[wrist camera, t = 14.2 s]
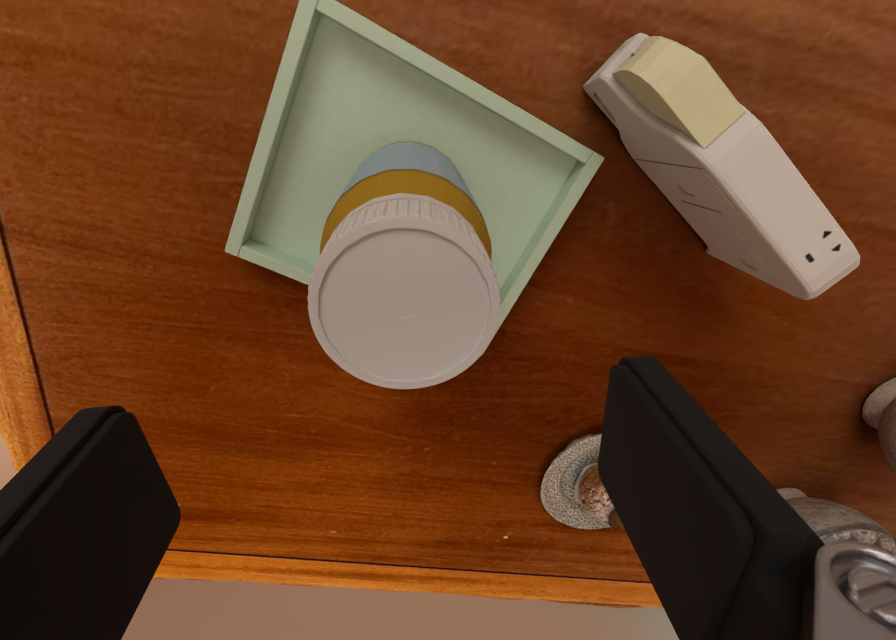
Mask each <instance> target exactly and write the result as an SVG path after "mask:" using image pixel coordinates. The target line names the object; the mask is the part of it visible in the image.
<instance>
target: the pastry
mask: <svg viewBox="0 0 896 640" xmlns="http://www.w3.org/2000/svg"><path fill="white" fill-rule="evenodd" d="M601 435H602V433H600V434H587V435H585V436H583V437H580V438H579V439H574V440H573V441H572V442H571V443H570V444H568V446H567V447H566V448H565V450H563V451H561V452H560V453H559V454H558V456H557V457H556V458H555V459H553V460H552V462H551V465H550V467H549V468H548V470H547V471H546V473H545V475H544V477H543V480H542V484H541V490H540V496H541V501H542V503H543V506H544V507H545V509H546V510H547V511H548V513H549V514H550V515H551V516H552V517H553V518H554V519H556V520H557V521H559V522H562V523H564V524H566V525H568V526H571V527H575V528H580V529H600V528H605V527H612V528H614V529H625V528H624V526H623V524H622V522H621V520H620V518H619V516H618V514H617V512H616V510H615V508H614V506H613V504H612V502H611V500H610V498H609V496H608V494H607V492H606V490H605V488H604V486H603V484H602V482H601V479H600V476H599V472H598V457H599V450H600V442H601Z"/></svg>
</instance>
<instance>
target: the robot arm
mask: <svg viewBox="0 0 896 640" xmlns="http://www.w3.org/2000/svg"><path fill="white" fill-rule="evenodd" d="M598 472H599V476H600V479H601V482H602V484H603V486H604V488H605V490H606V492H607V494H608V496H609V498H610V500H611V502H612V504H613V506H614V508H615V510H616V512H617V514H618V516H619V518H620V520H621V522H622V524H623V526H624V528H625V530H626V532H627V535H628V537H629V539H630V541H631V543H632V545H633V547H634V549H635V551H636V553H637V555H638V557H639V559H640V561H641V563H642V565H643V567H644V569H645V571H646V573H647V575H648V577H649V579H650V581H651V583H652V585H653V587H654V589H655V591H656V593H657V595H658V597H659V599H660V601H661V603H662V605H663V607H664V609H665V611H666V613H667V615H668V618H669V620H670V621H671V624H672V625H673V628H674V629H675V632H676V634H677V636H678V638H679V639H680V640H896V554H895V553H893V552H891V551H888V550H886V549H884V548H882V547H879V546H876V545H873V544H869V543H866V542H862V541H856V540H844V539H840V540H836V541H831V542H827V543H826V544H825V543H824V542H823V541H822V540H821V539H820V538H819V537H818V536H817V534H816V533H815V532H814V531H813V530H812V529H811V527H810V526H809V525H808V524H807V523H806V522H805V521H804V520H803V519H802V518H801V517H800V515H799V514H798V513H797V512H796V511H795V510H794V509H793V508H792V507H791V506H790V504H789V503H788V502H787V501H786V500H785V499H784V498H783V497H782V496H781V495H780V494H779V492H778V491H777V490H776V489H775V488H774V487H773V486H772V485H771V484H770V483H769V481H768V480H767V479H766V478H765V477H764V476H763V475H762V474H761V473H760V472H759V471H758V469H757V468H756V467H755V466H754V465H753V464H752V463H751V462H750V461H749V460H748V458H747V457H746V456H745V455H744V454H743V453H742V452H741V451H740V450H739V449H738V448H737V446H736V445H735V444H734V443H733V442H732V441H731V440H730V439H729V438H728V437H727V435H726V434H725V433H724V432H723V431H722V430H721V429H720V428H719V427H718V426H717V424H716V423H715V422H714V421H713V420H712V419H711V418H710V417H709V416H708V415H707V414H706V412H705V411H704V410H703V409H702V408H701V407H700V406H699V405H698V404H697V403H696V401H695V400H694V399H693V398H692V397H691V396H690V395H689V394H688V393H687V392H686V391H685V389H684V388H683V387H682V386H681V385H680V384H679V383H678V382H677V381H676V380H675V378H674V377H673V376H672V375H671V374H670V373H669V372H668V371H667V370H666V369H665V368H664V366H663V365H662V364H661V363H660V362H659V361H658V360H657V359H656V358H655V357H654V356H652V355H643V356H633V357H623V358H621V360H620V361H619V364H618V365H614V366H612V368H611V371H610V378H609V385H608V392H607V399H606V406H605V414H604V421H603V428H602V435H601V442H600V450H599V457H598ZM180 515H181V514H180V508H179V505H178V503H177V501H176V499H175V497H174V495H173V493H172V491H171V489H170V487H169V485H168V483H167V481H166V479H165V477H164V475H163V473H162V471H161V468H160V466H159V464H158V462H157V460H156V458H155V456H154V454H153V452H152V450H151V448H150V446H149V444H148V442H147V440H146V438H145V436H144V434H143V432H142V430H141V428H140V425H139V423H138V421H137V419H136V418H135V416H134V415H133V414H132V413H130V412H126V410H125V409H124V408H122V407H121V406H106V407H95V408H86V409H83V410H81V411H79V412H78V413H76V414H75V415H74V416H73V418H72V419H71V420H70V421H69V422H68V423H67V424H66V425H65V426H64V427H63V428H62V429H61V430H60V431H59V432H58V433H57V434H56V435H55V436H54V437H53V438H52V439H51V440H50V441H49V442H48V443H47V444H46V445H45V446H44V447H43V448H42V449H41V450H40V451H39V452H38V453H37V454H36V455H35V456H34V457H33V458H32V459H31V460H30V461H29V462H28V463H27V464H26V465H25V466H24V467H23V468H22V469H21V470H20V471H19V472H18V473H17V474H16V475H15V476H14V477H13V478H12V479H11V480H10V481H9V482H8V483H7V484H6V485H5V486H4V487H3V488H2V489H1V490H0V640H121V639H122V636H123V635H124V633H125V631H126V629H127V627H128V625H129V623H130V621H131V619H132V617H133V615H134V613H135V611H136V609H137V607H138V605H139V603H140V601H141V599H142V597H143V595H144V593H145V591H146V589H147V587H148V585H149V583H150V581H151V580H152V578H153V576H154V574H155V572H156V570H157V568H158V566H159V564H160V562H161V560H162V558H163V556H164V554H165V552H166V550H167V548H168V546H169V544H170V542H171V540H172V538H173V536H174V534H175V532H176V530H177V528H178V526H179V523H180Z"/></svg>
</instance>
